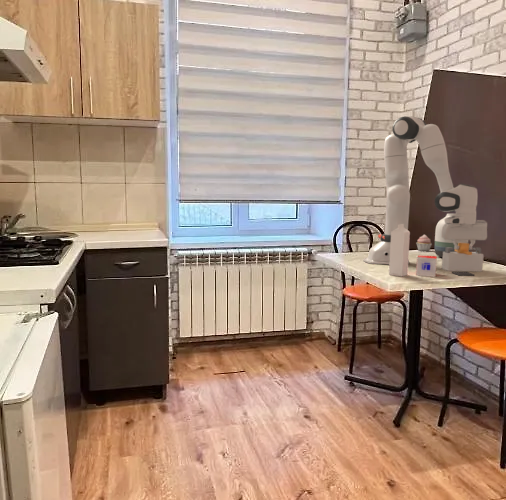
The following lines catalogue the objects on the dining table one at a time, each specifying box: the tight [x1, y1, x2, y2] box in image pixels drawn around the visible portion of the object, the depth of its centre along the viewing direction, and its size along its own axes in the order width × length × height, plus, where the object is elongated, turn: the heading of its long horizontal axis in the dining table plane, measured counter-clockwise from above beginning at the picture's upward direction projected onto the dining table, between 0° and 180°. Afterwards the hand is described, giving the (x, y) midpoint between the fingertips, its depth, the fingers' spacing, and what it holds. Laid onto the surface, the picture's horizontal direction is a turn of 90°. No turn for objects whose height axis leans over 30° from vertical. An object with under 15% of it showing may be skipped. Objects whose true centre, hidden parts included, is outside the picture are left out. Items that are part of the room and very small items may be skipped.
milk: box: [388, 224, 411, 277], centre depth 214 cm, size 6×6×22 cm
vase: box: [434, 213, 469, 258], centre depth 270 cm, size 17×17×24 cm
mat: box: [451, 271, 475, 277], centre depth 219 cm, size 7×7×1 cm
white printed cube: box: [415, 254, 438, 277], centre depth 217 cm, size 8×8×8 cm
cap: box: [455, 242, 473, 255], centre depth 230 cm, size 13×5×4 cm, turn 5°
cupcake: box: [415, 234, 433, 252], centre depth 298 cm, size 9×9×10 cm
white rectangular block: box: [441, 247, 484, 272], centre depth 231 cm, size 16×7×10 cm, turn 92°
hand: (463, 249), depth 230 cm, fingers closed on cap, 5 cm apart
